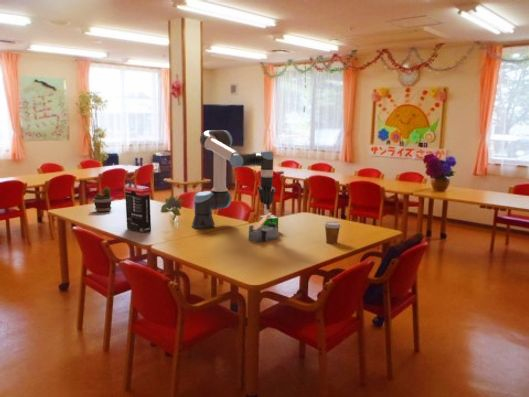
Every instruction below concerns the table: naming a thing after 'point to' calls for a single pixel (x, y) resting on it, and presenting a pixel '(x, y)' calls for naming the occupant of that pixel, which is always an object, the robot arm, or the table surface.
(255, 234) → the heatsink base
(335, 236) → the disposable coffee cup
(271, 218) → the puzzle cube
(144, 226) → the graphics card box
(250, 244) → the table surface
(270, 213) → the strap
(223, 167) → the robot arm
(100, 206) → the flowerpot
